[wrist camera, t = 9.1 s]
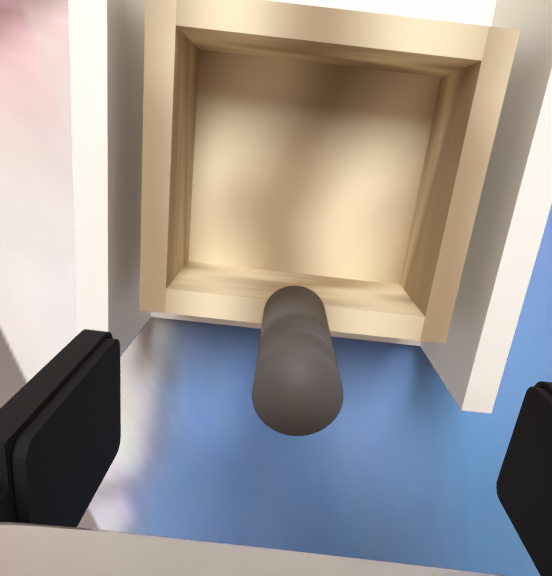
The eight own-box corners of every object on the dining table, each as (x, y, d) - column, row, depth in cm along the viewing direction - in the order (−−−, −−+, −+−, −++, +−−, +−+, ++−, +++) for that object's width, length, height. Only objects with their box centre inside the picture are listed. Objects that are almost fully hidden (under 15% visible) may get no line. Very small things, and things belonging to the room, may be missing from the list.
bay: (604, -378, 17) (819, -728, 10) (437, 340, 25) (491, 413, 18) (144, -436, 16) (46, -830, 10) (133, 307, 25) (77, 369, 18)
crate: (463, 56, 20) (665, -39, 9) (409, 314, 23) (510, 458, 13) (180, 23, 19) (55, -111, 9) (169, 288, 23) (71, 411, 13)
